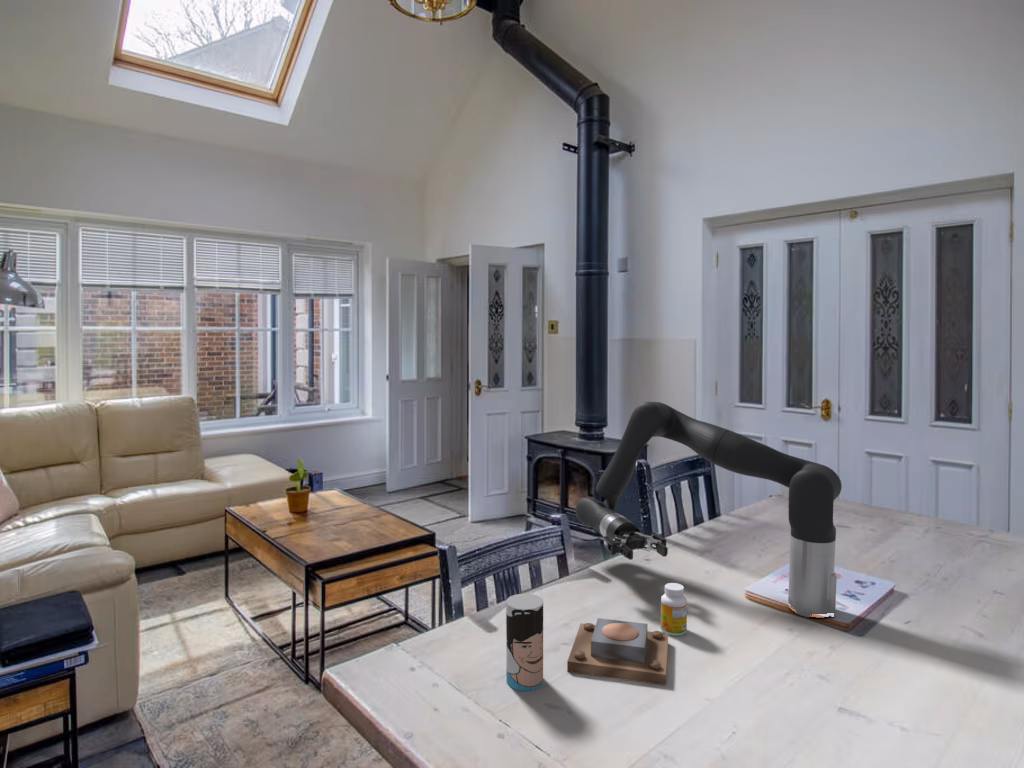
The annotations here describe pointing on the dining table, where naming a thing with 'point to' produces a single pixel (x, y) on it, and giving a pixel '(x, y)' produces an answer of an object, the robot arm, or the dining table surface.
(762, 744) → the dining table surface
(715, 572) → the dining table surface
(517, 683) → the printed can
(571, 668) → the plinth
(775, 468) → the robot arm
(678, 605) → the supplement bottle
